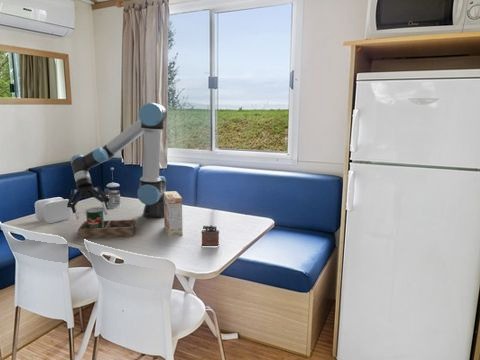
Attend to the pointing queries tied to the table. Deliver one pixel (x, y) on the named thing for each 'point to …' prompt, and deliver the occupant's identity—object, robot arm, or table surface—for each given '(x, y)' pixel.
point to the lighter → (210, 236)
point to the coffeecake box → (173, 213)
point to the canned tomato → (95, 218)
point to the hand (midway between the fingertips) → (92, 215)
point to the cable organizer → (52, 210)
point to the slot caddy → (108, 229)
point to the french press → (113, 195)
